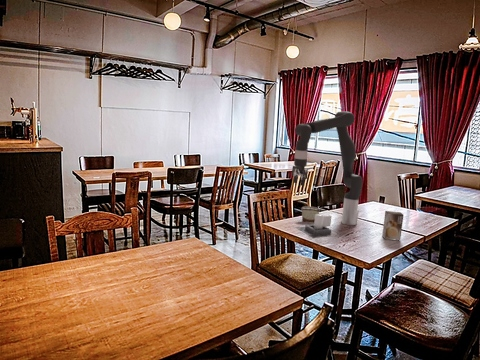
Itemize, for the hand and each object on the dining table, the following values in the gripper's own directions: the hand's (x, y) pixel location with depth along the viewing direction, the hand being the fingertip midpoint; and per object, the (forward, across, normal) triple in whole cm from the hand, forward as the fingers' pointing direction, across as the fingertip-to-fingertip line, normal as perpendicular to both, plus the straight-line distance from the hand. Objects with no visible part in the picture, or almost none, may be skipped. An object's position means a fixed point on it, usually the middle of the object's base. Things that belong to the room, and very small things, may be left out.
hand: (298, 184), depth 226 cm
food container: (+28, +10, -17) cm, 34 cm away
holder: (+28, -12, -9) cm, 31 cm away
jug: (+27, -12, -12) cm, 31 cm away
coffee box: (+28, -29, -49) cm, 64 cm away
